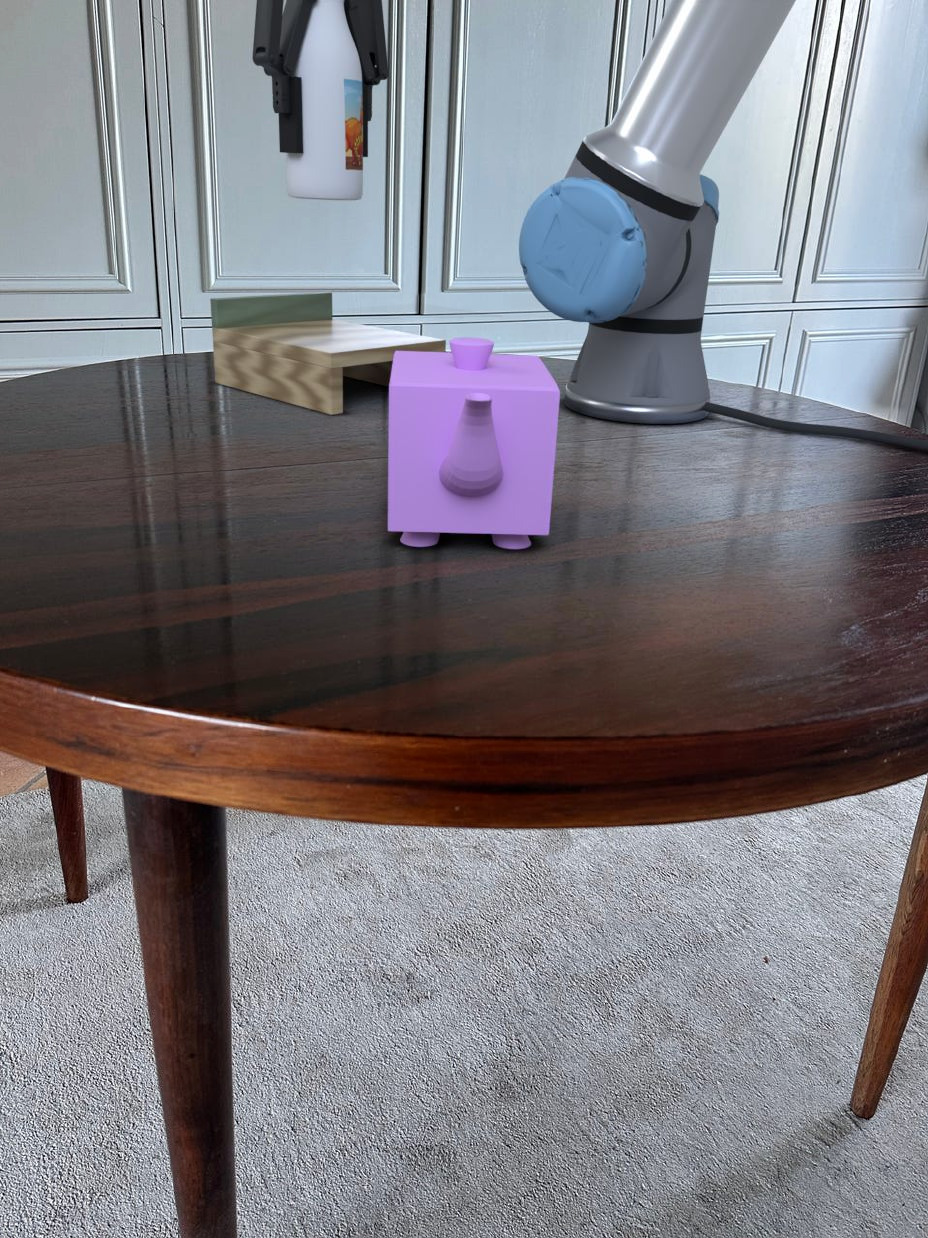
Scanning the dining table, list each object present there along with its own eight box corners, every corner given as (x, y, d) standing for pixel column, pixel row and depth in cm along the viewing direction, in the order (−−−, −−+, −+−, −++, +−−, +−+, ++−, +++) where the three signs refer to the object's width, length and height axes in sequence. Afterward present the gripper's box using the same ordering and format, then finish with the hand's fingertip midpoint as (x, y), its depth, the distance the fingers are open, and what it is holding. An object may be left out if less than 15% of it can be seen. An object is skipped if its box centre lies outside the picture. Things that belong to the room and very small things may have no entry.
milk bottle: (325, 200, 96) (321, -43, 88) (270, 197, 100) (262, -36, 92) (378, 201, 102) (379, -27, 94) (324, 198, 106) (321, -21, 98)
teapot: (393, 488, 75) (395, 318, 70) (525, 492, 76) (536, 323, 71) (384, 588, 57) (386, 368, 52) (558, 592, 58) (576, 374, 53)
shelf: (444, 396, 109) (447, 310, 105) (331, 415, 98) (330, 320, 94) (326, 368, 121) (325, 291, 117) (215, 382, 110) (210, 298, 106)
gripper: (376, -92, 100) (375, 158, 109) (200, -143, 86) (216, 148, 95) (429, -102, 95) (423, 159, 104) (252, -159, 81) (263, 149, 90)
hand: (324, 154), depth 100 cm, fingers closed on milk bottle, 8 cm apart
